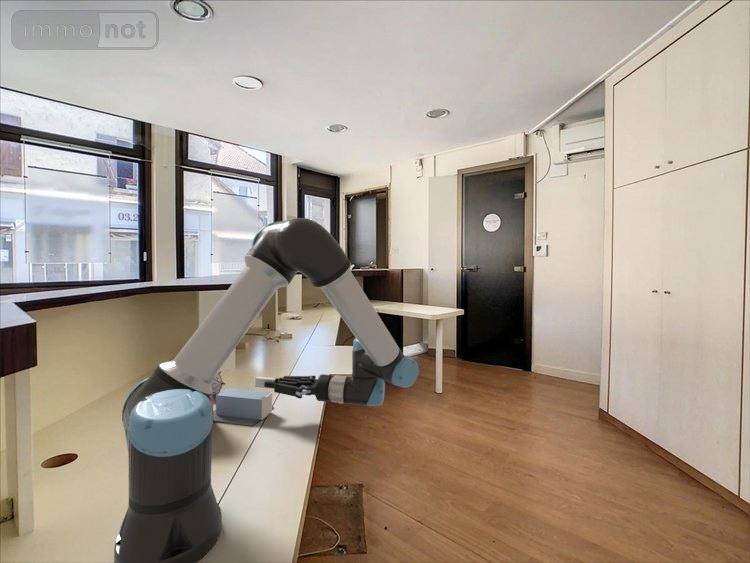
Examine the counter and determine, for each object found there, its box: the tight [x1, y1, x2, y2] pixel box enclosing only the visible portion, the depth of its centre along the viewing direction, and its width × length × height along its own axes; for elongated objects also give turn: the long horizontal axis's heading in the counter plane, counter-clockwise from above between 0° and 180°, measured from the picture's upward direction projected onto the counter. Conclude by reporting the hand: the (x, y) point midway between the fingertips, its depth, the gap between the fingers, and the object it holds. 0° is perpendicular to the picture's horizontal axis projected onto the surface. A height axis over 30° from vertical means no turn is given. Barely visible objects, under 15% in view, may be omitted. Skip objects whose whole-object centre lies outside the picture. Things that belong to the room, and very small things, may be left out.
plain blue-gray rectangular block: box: [215, 388, 273, 421], centre depth 103 cm, size 6×6×15 cm
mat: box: [213, 405, 274, 427], centre depth 104 cm, size 13×16×1 cm
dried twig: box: [213, 370, 226, 396], centre depth 117 cm, size 9×8×10 cm
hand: (256, 381), depth 103 cm, fingers closed
